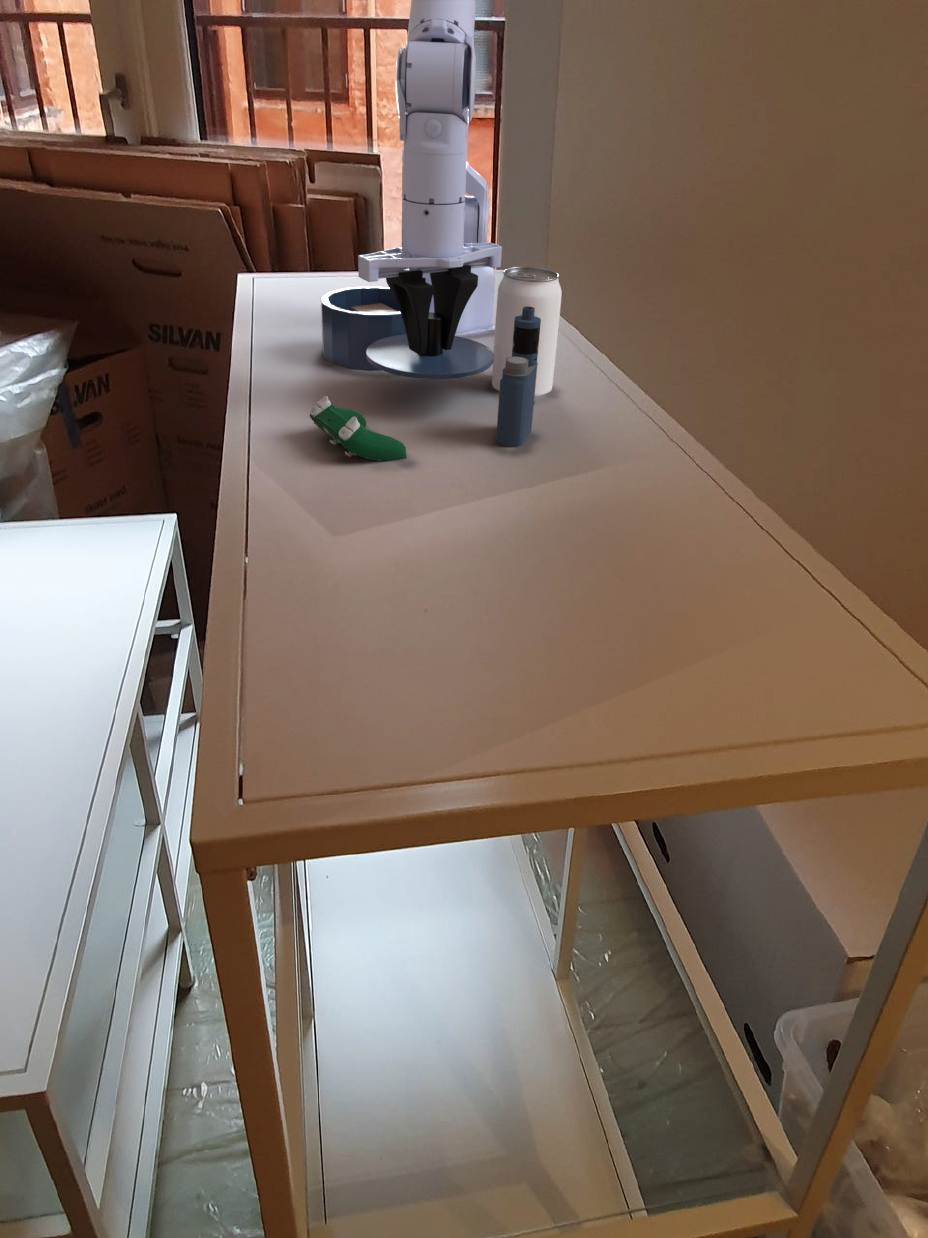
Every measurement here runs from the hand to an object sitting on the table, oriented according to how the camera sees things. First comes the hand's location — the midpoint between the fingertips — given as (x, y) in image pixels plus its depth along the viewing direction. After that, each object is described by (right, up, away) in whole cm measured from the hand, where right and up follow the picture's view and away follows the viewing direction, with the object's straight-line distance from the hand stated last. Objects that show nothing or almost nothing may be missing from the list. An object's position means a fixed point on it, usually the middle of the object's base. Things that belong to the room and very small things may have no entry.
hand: (430, 349), depth 90 cm
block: (-7, +4, +14) cm, 16 cm away
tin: (-7, +3, +14) cm, 16 cm away
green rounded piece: (-6, -12, -7) cm, 15 cm away
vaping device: (+8, -10, -4) cm, 14 cm away
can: (+9, -2, +8) cm, 12 cm away
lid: (0, -1, +1) cm, 1 cm away
